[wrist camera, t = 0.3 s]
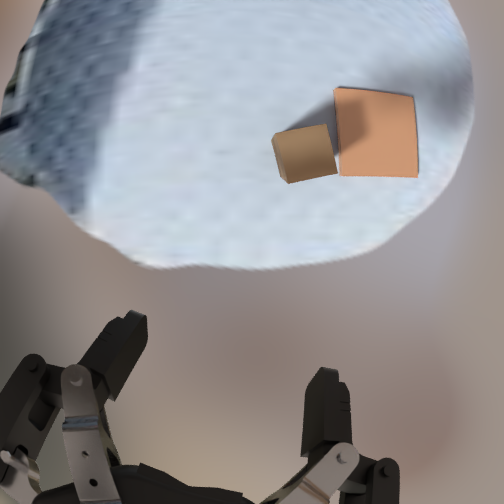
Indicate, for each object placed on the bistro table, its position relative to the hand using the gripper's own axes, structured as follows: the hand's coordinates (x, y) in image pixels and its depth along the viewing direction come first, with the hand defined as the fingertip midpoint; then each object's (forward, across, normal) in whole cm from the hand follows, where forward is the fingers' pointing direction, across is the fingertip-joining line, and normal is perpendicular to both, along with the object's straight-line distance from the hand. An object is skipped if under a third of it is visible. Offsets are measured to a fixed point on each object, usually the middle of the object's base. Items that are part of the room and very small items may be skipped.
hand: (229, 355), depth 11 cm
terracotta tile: (+30, -11, -11) cm, 34 cm away
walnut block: (+28, -1, -5) cm, 29 cm away
